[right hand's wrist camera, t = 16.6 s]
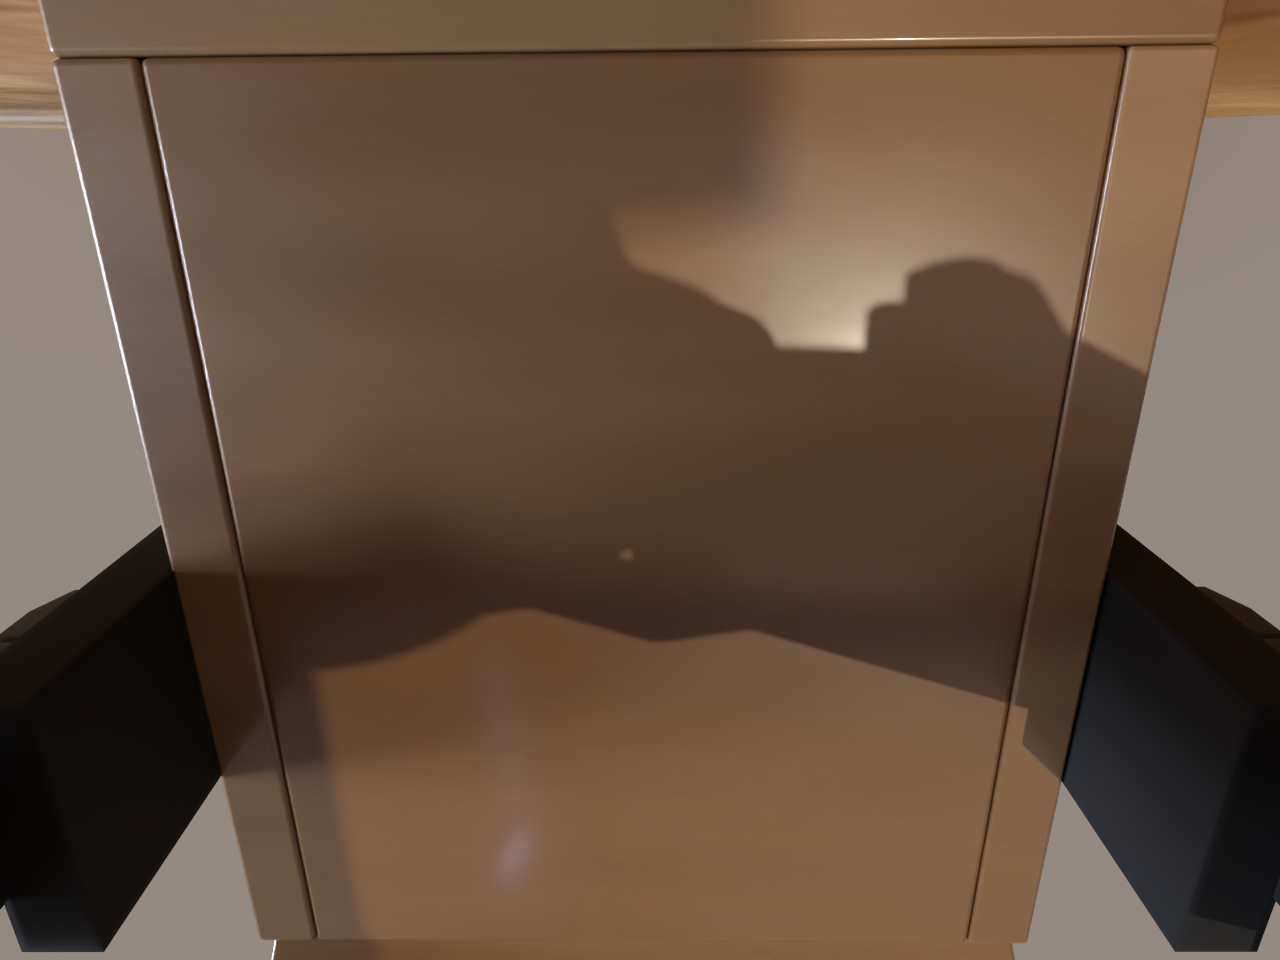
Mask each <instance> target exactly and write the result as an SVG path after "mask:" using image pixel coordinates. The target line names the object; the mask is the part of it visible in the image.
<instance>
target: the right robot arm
mask: <svg viewBox="0 0 1280 960" xmlns="http://www.w3.org/2000/svg"><path fill="white" fill-rule="evenodd" d="M220 776H221V774H220V770H219V766H218V761H217V757H216V753H215V749H214V745H213V740H212V736H211V732H210V727H209V723H208V718H207V714H206V710H205V705H204V701H203V697H202V692H201V688H200V683H199V679H198V675H197V670H196V666H195V662H194V657H193V653H192V648H191V644H190V640H189V635H188V631H187V627H186V622H185V618H184V613H183V609H182V605H181V600H180V596H179V592H178V587H177V583H176V578H175V574H174V571H172V567H171V563H170V559H169V555H168V550H167V546H166V542H165V538H164V534H163V529H162V525H160V526H159V527H158V528H157V529H155V530H154V531H153V532H152V533H150V534H149V535H148V536H147V537H145V538H144V539H143V540H142V541H140V542H139V543H138V544H136V545H135V546H134V547H133V548H131V549H130V550H129V551H128V552H126V553H125V554H124V555H123V556H121V557H120V558H119V559H117V560H116V561H115V562H114V563H112V564H111V565H110V566H109V567H107V568H106V569H105V570H104V571H102V572H101V573H100V574H98V575H97V576H96V577H95V578H93V579H92V580H91V581H90V582H88V583H87V584H86V585H85V586H83V587H82V588H81V589H80V590H74V591H72V592H70V593H68V594H66V595H63V596H61V597H59V598H57V599H55V600H53V601H51V602H49V603H47V604H45V605H43V606H40V607H38V608H36V609H34V610H32V611H30V612H29V613H27V614H26V615H25V616H23V617H22V618H21V619H19V620H18V621H17V622H15V623H14V624H13V625H11V626H10V627H9V628H7V629H6V630H5V631H4V632H2V633H1V634H0V909H1V908H2V907H3V906H4V905H5V908H6V910H7V913H8V915H9V918H10V921H11V924H12V926H13V929H14V932H15V935H16V937H17V940H18V943H19V945H20V948H21V951H22V952H104V951H105V949H106V948H107V946H108V945H109V943H110V942H111V940H112V939H113V937H114V936H115V934H116V933H117V931H118V930H119V928H120V927H121V925H122V924H123V922H124V921H125V919H126V918H127V916H128V915H129V913H130V912H131V910H132V909H133V907H134V906H135V904H136V903H137V901H138V900H139V898H140V897H141V895H142V894H143V892H144V891H145V889H146V888H147V886H148V885H149V883H150V882H151V880H152V879H153V877H154V876H155V874H156V873H157V871H158V870H159V868H160V867H161V865H162V864H163V862H164V861H165V859H166V858H167V856H168V855H169V853H170V852H171V850H172V849H173V847H174V846H175V844H176V843H177V841H178V840H179V838H180V837H181V835H182V834H183V832H184V831H185V829H186V828H187V826H188V825H189V823H190V821H191V820H192V818H193V817H194V816H195V814H196V813H197V811H198V810H199V808H200V807H201V805H202V804H203V802H204V801H205V799H206V798H207V796H208V794H209V793H210V791H211V790H212V788H213V787H214V785H215V784H216V782H217V781H218V779H219V778H220ZM1062 782H1063V783H1064V785H1065V787H1066V788H1067V790H1068V791H1069V793H1070V794H1071V796H1072V797H1073V799H1074V800H1075V802H1076V803H1077V805H1078V806H1079V808H1080V809H1081V811H1082V812H1083V814H1084V815H1085V817H1086V818H1087V820H1088V821H1089V823H1090V824H1091V826H1092V827H1093V829H1094V830H1095V832H1096V833H1097V835H1098V836H1099V838H1100V839H1101V841H1102V842H1103V844H1104V845H1105V847H1106V848H1107V850H1108V851H1109V853H1110V854H1111V856H1112V857H1113V859H1114V860H1115V862H1116V863H1117V865H1118V866H1119V868H1120V869H1121V871H1122V872H1123V874H1124V875H1125V877H1126V878H1127V880H1128V881H1129V883H1130V884H1131V886H1132V887H1133V889H1134V890H1135V892H1136V894H1137V895H1138V896H1139V898H1140V900H1141V901H1142V903H1143V904H1144V906H1145V907H1146V909H1147V910H1148V912H1149V913H1150V914H1151V916H1152V918H1153V919H1154V921H1155V922H1156V924H1157V925H1158V927H1159V928H1160V930H1161V931H1162V933H1163V934H1164V936H1165V937H1166V939H1167V940H1168V942H1169V943H1170V945H1171V946H1172V948H1173V949H1174V951H1175V952H1257V950H1258V948H1259V945H1260V942H1261V939H1262V937H1263V934H1264V931H1265V929H1266V926H1267V923H1268V921H1269V918H1270V915H1271V912H1272V910H1273V907H1274V904H1275V902H1277V903H1278V904H1279V905H1280V630H1278V629H1277V628H1276V627H1274V626H1273V625H1272V624H1270V623H1269V622H1268V621H1266V620H1265V619H1264V618H1262V617H1261V616H1260V615H1258V614H1257V613H1256V612H1254V611H1253V610H1252V609H1251V608H1248V607H1246V606H1244V605H1242V604H1240V603H1238V602H1236V601H1234V600H1232V599H1229V598H1227V597H1225V596H1223V595H1221V594H1219V593H1217V592H1215V591H1213V590H1211V589H1208V588H1206V587H1196V586H1195V585H1193V584H1192V583H1191V582H1189V581H1188V580H1187V579H1186V578H1184V577H1183V576H1182V575H1181V574H1179V573H1178V572H1177V571H1175V570H1174V569H1173V568H1172V567H1171V566H1169V565H1168V564H1167V563H1165V562H1164V561H1163V560H1162V559H1160V558H1159V557H1158V556H1157V555H1155V554H1154V553H1153V552H1152V551H1150V550H1149V549H1148V548H1147V547H1145V546H1144V545H1143V544H1141V543H1140V542H1139V541H1138V540H1136V539H1135V538H1134V537H1133V536H1131V535H1130V534H1129V533H1128V532H1126V531H1125V530H1124V529H1123V528H1121V527H1120V526H1119V525H1116V530H1115V534H1114V539H1113V544H1112V548H1111V553H1110V558H1109V562H1108V567H1107V572H1106V576H1105V581H1104V586H1103V590H1102V595H1101V599H1100V604H1099V609H1098V613H1097V618H1096V623H1095V627H1094V632H1093V637H1092V641H1091V646H1090V651H1089V655H1088V660H1087V664H1086V669H1085V674H1084V678H1083V683H1082V688H1081V692H1080V697H1079V702H1078V706H1077V711H1076V716H1075V720H1074V725H1073V730H1072V734H1071V739H1070V743H1069V748H1068V753H1067V757H1066V762H1065V767H1064V771H1063V776H1062Z"/></svg>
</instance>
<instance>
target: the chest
mask: <svg viewBox="0 0 1280 960" xmlns="http://www.w3.org/2000/svg"><path fill="white" fill-rule="evenodd" d="M1227 4H1228V0H38V5H39V9H40V13H41V17H42V21H43V26H44V30H45V34H46V38H47V43H48V47H49V49H50V51H51V53H52V54H53V55H55V56H57V57H59V58H60V59H58V60H56V61H54V62H53V69H54V74H55V78H56V82H57V86H58V90H59V95H60V99H61V103H62V107H63V112H64V116H65V120H66V124H67V128H68V133H69V137H70V141H71V145H72V149H73V154H74V158H75V162H76V166H77V171H78V175H79V179H80V183H81V187H82V192H83V196H84V200H85V204H86V209H87V213H88V217H89V221H90V225H91V230H92V234H93V238H94V242H95V247H96V251H97V255H98V259H99V263H100V268H101V272H102V276H103V280H104V284H105V289H106V293H107V297H108V301H109V306H110V310H111V314H112V318H113V323H114V327H115V331H116V335H117V339H118V344H119V348H120V352H121V356H122V361H123V365H124V369H125V373H126V377H127V382H128V386H129V390H130V394H131V398H132V403H133V407H134V411H135V415H136V420H137V424H138V428H139V432H140V436H141V440H142V445H143V449H144V453H145V458H146V462H147V466H148V470H149V474H150V479H151V483H152V487H153V491H154V496H155V500H156V504H157V508H158V512H159V516H160V521H161V525H162V529H163V534H164V538H165V542H166V546H167V550H168V555H169V559H170V563H171V567H172V571H174V574H175V578H176V583H177V587H178V592H179V596H180V600H181V605H182V609H183V613H184V618H185V622H186V627H187V631H188V635H189V640H190V644H191V648H192V653H193V657H194V662H195V666H196V670H197V675H198V679H199V683H200V688H201V692H202V697H203V701H204V705H205V710H206V714H207V718H208V723H209V727H210V732H211V736H212V740H213V745H214V749H215V753H216V757H217V761H218V766H219V770H220V774H221V778H222V782H223V787H224V791H225V795H226V799H227V804H228V808H229V812H230V816H231V820H232V825H233V829H234V833H235V837H236V842H237V846H238V850H239V854H240V858H241V863H242V867H243V871H244V875H245V880H246V884H247V888H248V892H249V896H250V900H251V905H252V909H253V913H254V918H255V922H256V926H257V930H258V934H259V937H260V939H263V940H313V939H315V938H316V937H317V935H318V937H319V939H322V940H474V941H743V942H964V941H965V940H966V938H967V940H968V942H970V943H1025V942H1027V938H1028V934H1029V929H1030V925H1031V920H1032V915H1033V911H1034V906H1035V901H1036V897H1037V892H1038V887H1039V883H1040V878H1041V873H1042V869H1043V864H1044V860H1045V855H1046V850H1047V846H1048V841H1049V836H1050V832H1051V827H1052V822H1053V818H1054V813H1055V808H1056V804H1057V799H1058V795H1059V790H1060V785H1061V781H1062V776H1063V771H1064V767H1065V762H1066V757H1067V753H1068V748H1069V743H1070V739H1071V734H1072V730H1073V725H1074V720H1075V716H1076V711H1077V706H1078V702H1079V697H1080V692H1081V688H1082V683H1083V678H1084V674H1085V669H1086V664H1087V660H1088V655H1089V651H1090V646H1091V641H1092V637H1093V632H1094V627H1095V623H1096V618H1097V613H1098V609H1099V604H1100V599H1101V595H1102V590H1103V586H1104V581H1105V576H1106V572H1107V567H1108V562H1109V558H1110V553H1111V548H1112V544H1113V539H1114V534H1115V530H1116V525H1117V520H1118V516H1119V511H1120V507H1121V502H1122V497H1123V493H1124V488H1125V483H1126V479H1127V474H1128V469H1129V465H1130V460H1131V455H1132V451H1133V446H1134V442H1135V437H1136V432H1137V428H1138V423H1139V418H1140V414H1141V409H1142V404H1143V400H1144V395H1145V390H1146V386H1147V381H1148V377H1149V372H1150V367H1151V363H1152V358H1153V353H1154V348H1155V344H1156V339H1157V334H1158V330H1159V325H1160V321H1161V316H1162V311H1163V307H1164V302H1165V298H1166V293H1167V288H1168V284H1169V279H1170V274H1171V270H1172V265H1173V260H1174V256H1175V251H1176V246H1177V242H1178V237H1179V232H1180V228H1181V223H1182V219H1183V214H1184V209H1185V205H1186V200H1187V195H1188V191H1189V186H1190V181H1191V177H1192V172H1193V168H1194V163H1195V158H1196V154H1197V149H1198V144H1199V140H1200V135H1201V130H1202V126H1203V121H1204V116H1205V112H1206V107H1207V102H1208V98H1209V93H1210V89H1211V84H1212V79H1213V75H1214V70H1215V65H1216V61H1217V56H1218V51H1219V50H1218V47H1217V46H1215V45H1213V44H1211V43H1214V42H1216V41H1217V40H1218V39H1219V37H1220V35H1221V32H1222V27H1223V22H1224V18H1225V13H1226V8H1227Z"/></svg>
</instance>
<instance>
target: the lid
mask: <svg viewBox="0 0 1280 960" xmlns="http://www.w3.org/2000/svg"><path fill="white" fill-rule="evenodd" d="M272 960H1015V959H1014V953H1013V947H1012V943H970V942H968V940H967V938H966V940H965V941H964V942H743V941H474V940H322V939H319V937H318V935H317V937H316V938H315V939H313V940H275V942H274V948H273V954H272Z"/></svg>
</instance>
